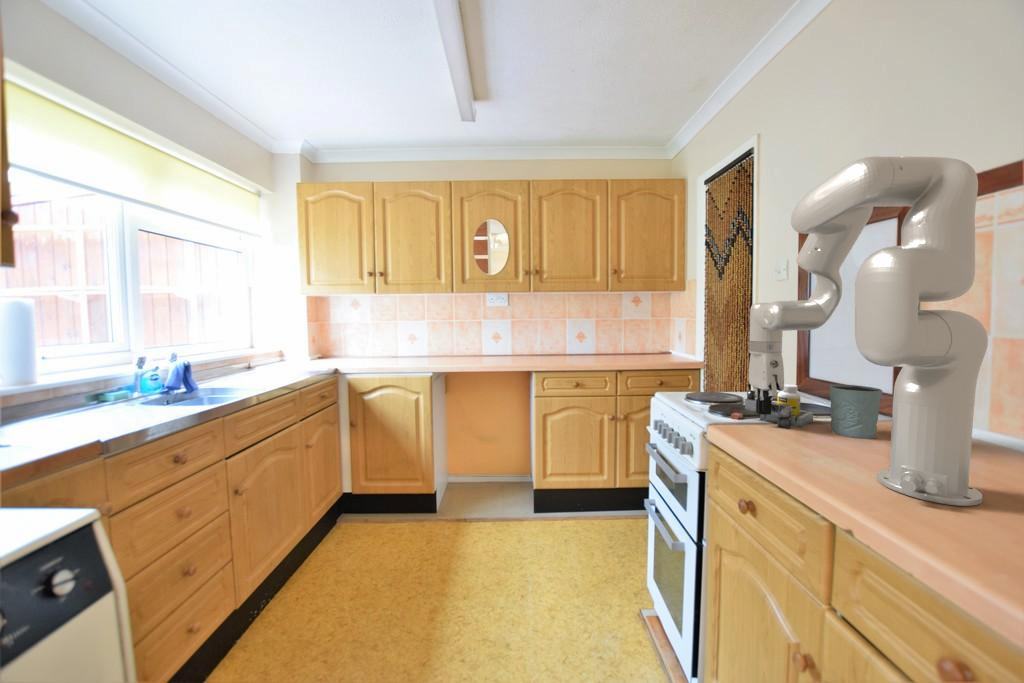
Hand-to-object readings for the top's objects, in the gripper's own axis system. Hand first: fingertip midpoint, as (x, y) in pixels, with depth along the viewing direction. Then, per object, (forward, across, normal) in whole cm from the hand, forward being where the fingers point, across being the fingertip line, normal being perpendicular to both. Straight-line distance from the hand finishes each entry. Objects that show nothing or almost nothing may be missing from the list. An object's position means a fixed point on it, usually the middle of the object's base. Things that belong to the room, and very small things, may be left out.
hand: (763, 413), depth 107 cm
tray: (+3, +6, -9) cm, 12 cm away
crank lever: (0, +3, -3) cm, 4 cm away
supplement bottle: (+3, +6, -9) cm, 11 cm away
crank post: (+3, +3, -1) cm, 5 cm away
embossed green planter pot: (+4, -5, -19) cm, 20 cm away
